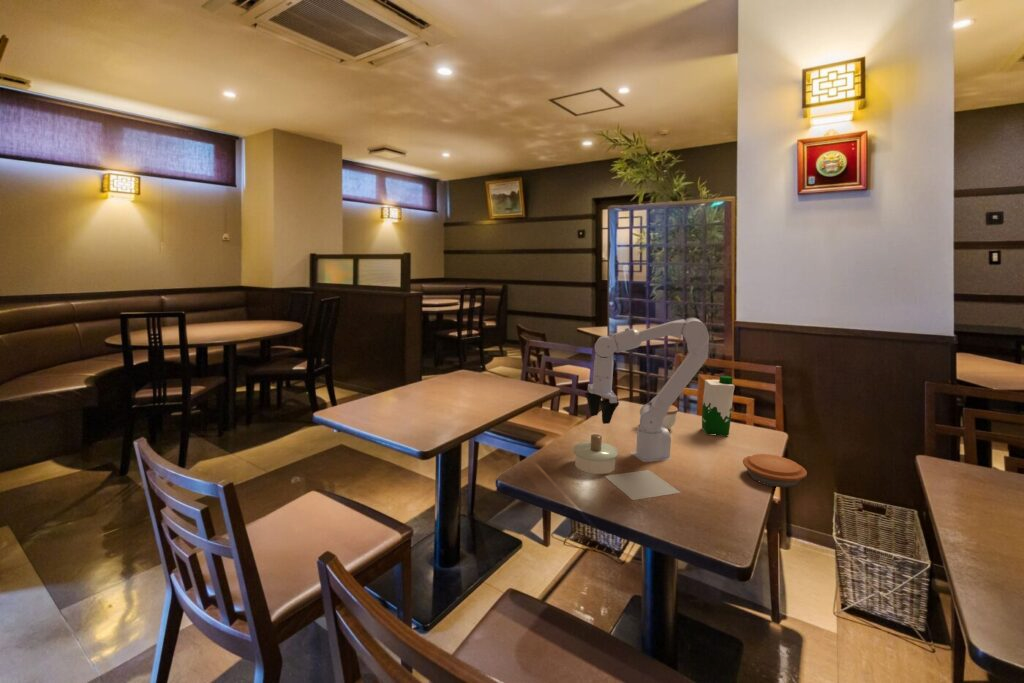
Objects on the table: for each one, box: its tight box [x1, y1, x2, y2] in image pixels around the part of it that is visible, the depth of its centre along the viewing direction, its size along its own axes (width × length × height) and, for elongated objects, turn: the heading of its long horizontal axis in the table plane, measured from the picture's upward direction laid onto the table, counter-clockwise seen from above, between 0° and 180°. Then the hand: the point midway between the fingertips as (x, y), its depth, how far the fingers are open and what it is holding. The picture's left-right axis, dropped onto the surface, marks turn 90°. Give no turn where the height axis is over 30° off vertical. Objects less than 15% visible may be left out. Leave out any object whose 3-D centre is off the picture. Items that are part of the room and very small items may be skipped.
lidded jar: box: [661, 404, 679, 431], centre depth 171 cm, size 11×11×9 cm
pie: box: [742, 453, 808, 488], centre depth 132 cm, size 15×16×5 cm
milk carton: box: [701, 375, 736, 436], centre depth 167 cm, size 9×9×20 cm
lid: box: [573, 433, 619, 461], centre depth 136 cm, size 12×12×5 cm
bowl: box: [574, 454, 616, 475], centre depth 136 cm, size 11×11×4 cm
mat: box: [603, 469, 682, 501], centre depth 126 cm, size 14×14×1 cm
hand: (599, 419), depth 147 cm, fingers open, 7 cm apart
